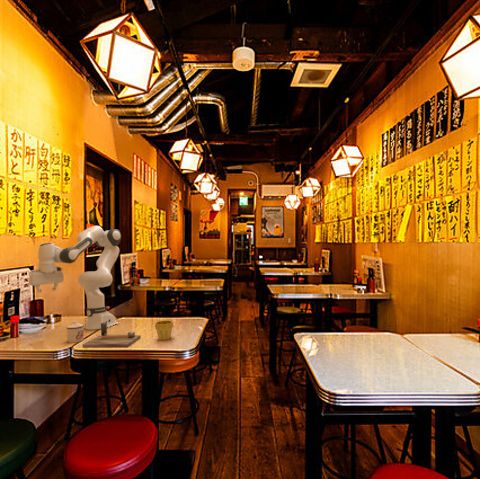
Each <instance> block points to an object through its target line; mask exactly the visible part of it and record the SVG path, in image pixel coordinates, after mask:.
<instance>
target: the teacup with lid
mask: <svg viewBox="0 0 480 479" xmlns="http://www.w3.org/2000/svg"><path fill="white" fill-rule="evenodd" d="M72 322H73V323H70V324H69V325H67V326H66V330H67V331H66V334H67V335H66V336H67V337H66V338H67V343H68V344H75V343H80V342H83V341H84V324H83V323H80V322H78V321H77V320H75V321H72Z"/></svg>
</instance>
